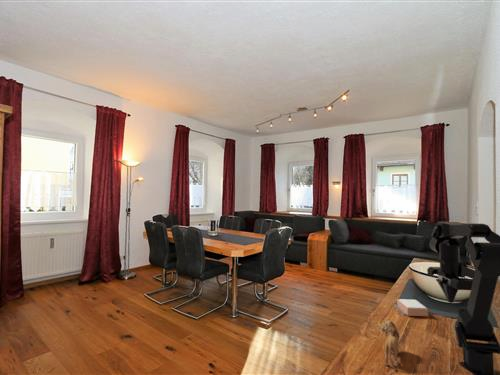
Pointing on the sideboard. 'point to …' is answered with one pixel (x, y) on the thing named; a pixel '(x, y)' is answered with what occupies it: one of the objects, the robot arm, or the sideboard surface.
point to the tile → (412, 307)
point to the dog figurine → (391, 341)
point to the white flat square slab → (400, 310)
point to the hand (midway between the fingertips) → (450, 302)
